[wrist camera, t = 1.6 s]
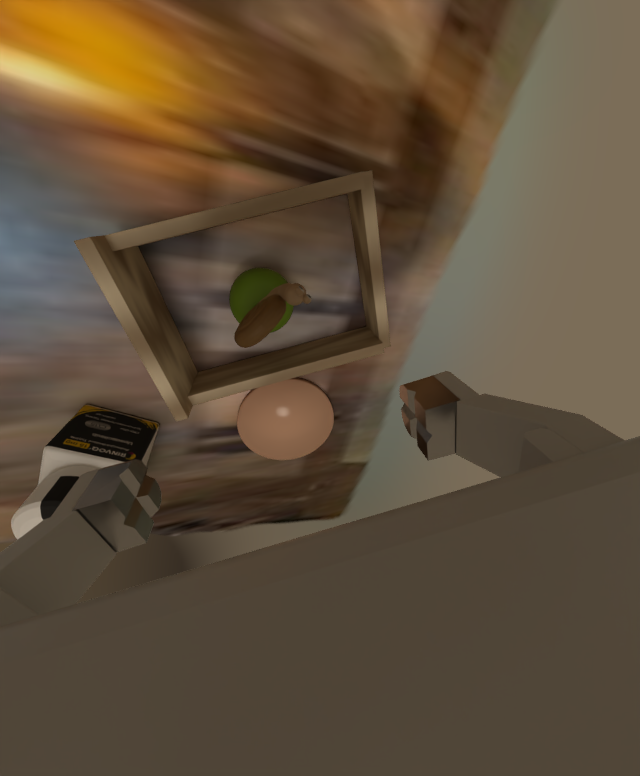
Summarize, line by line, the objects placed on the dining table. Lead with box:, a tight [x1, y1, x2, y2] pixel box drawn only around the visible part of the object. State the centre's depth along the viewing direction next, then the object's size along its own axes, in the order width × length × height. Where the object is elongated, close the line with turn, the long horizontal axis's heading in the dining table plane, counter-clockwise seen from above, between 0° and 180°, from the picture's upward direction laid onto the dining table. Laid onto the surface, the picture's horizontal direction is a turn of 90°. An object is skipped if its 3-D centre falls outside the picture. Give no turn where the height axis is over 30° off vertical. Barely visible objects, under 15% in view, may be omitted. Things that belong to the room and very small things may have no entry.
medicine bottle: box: [11, 405, 159, 539], centre depth 28 cm, size 7×7×12 cm
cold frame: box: [74, 170, 391, 421], centre depth 26 cm, size 14×20×7 cm
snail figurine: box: [229, 268, 312, 348], centre depth 23 cm, size 5×6×12 cm
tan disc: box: [237, 378, 334, 460], centre depth 35 cm, size 11×11×1 cm
